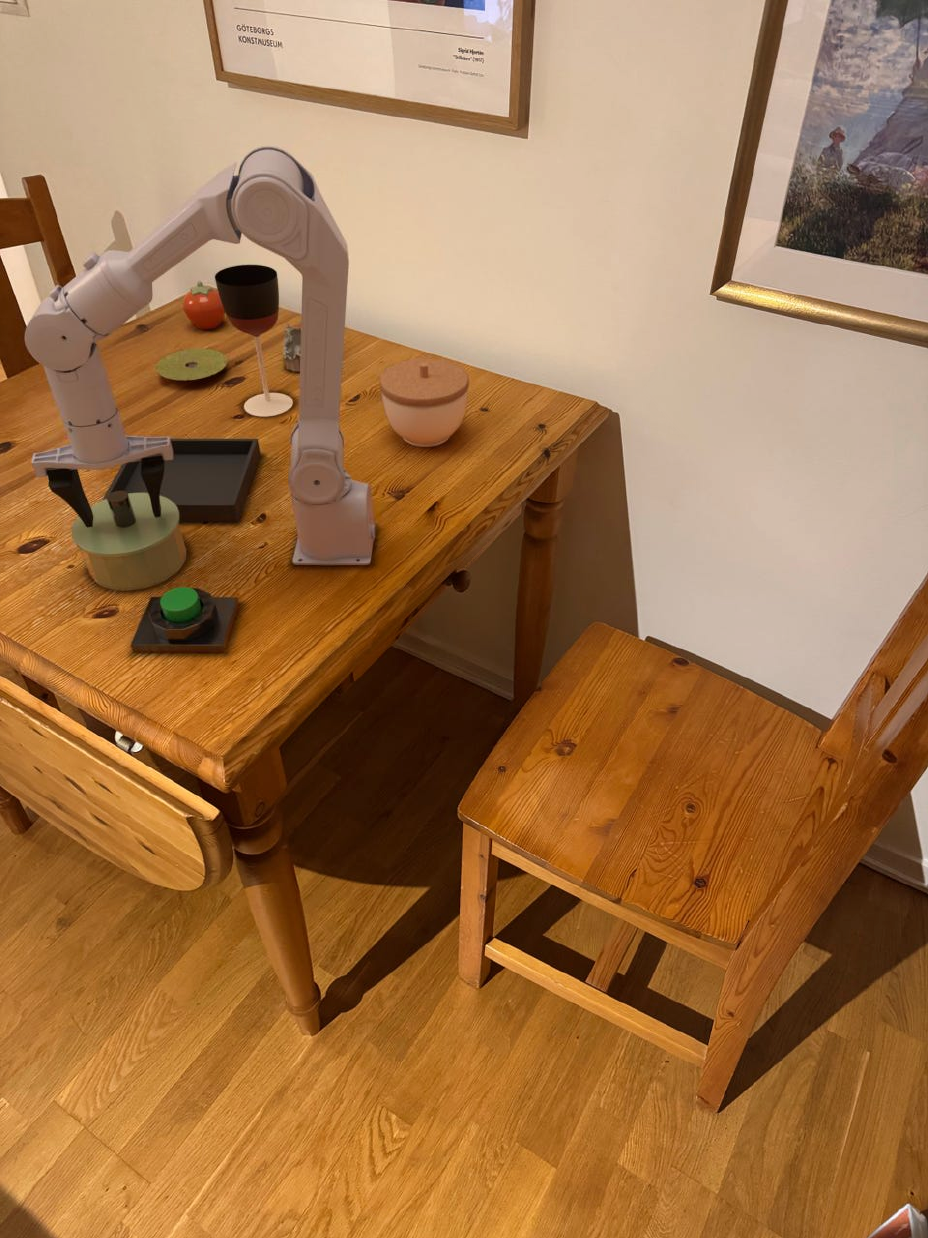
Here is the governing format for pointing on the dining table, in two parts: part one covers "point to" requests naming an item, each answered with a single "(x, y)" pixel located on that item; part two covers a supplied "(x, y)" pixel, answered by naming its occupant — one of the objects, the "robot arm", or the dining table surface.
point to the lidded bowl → (424, 399)
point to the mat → (191, 364)
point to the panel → (187, 627)
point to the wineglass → (253, 321)
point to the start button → (180, 604)
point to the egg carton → (292, 347)
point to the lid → (125, 525)
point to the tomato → (203, 306)
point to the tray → (201, 478)
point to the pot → (138, 565)
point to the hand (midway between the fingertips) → (124, 517)
